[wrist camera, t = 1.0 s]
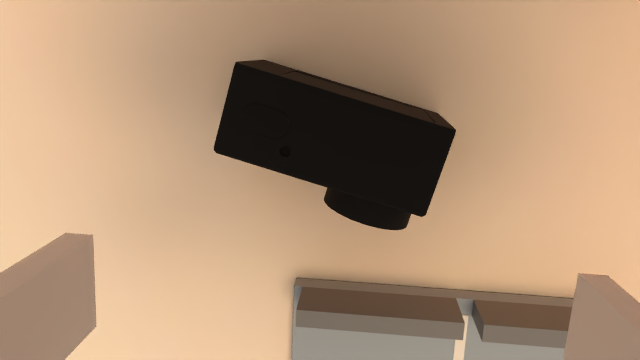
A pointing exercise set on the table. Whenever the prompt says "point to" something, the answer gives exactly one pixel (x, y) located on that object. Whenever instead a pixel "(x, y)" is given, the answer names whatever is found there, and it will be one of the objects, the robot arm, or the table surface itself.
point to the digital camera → (336, 141)
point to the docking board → (424, 323)
